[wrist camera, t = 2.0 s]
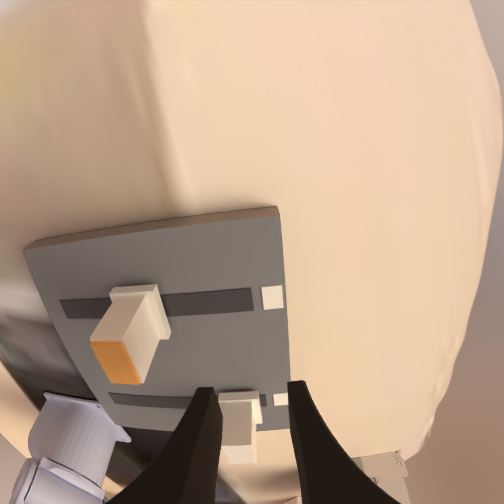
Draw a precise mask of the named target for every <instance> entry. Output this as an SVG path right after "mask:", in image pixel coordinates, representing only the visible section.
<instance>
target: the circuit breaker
mask: <svg viewBox="0 0 504 504" xmlns="http://www.w3.org/2000/svg"><path fill="white" fill-rule="evenodd" d="M400 452H401V451H400V450H398V451H397V452H388V453H383V454H377V455H371V456H364V457H357V458H351V459H352V460H353V461H354V462H355V464H356V465H357V466H358V467H359V468H360V469H361V470H362V471H363V472H364V473H365V474H366V475H367V476H368V477H369V478H370V479H371V480H372V481H373V482H374V483H375V484H377V485H378V486H379V487H380V488H381V489H383V490H384V491H385V492H386V493H387V494H389V495H390V496H391V497H393V498H394V499H395V500H397V501H398V502H400V503H401V504H411V503H410V499H409V496H408V492H407V489H406V485H405V482H404V478H405V477H406V476H407V475H408V472H407V469H406V466H405V463H404V460H403V458H402V459H401V456H400ZM398 462H400V464H401V466H399V465H398Z"/></svg>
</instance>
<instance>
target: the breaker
mask: <svg viewBox="0 0 504 504" xmlns="http://www.w3.org/2000/svg"><path fill="white" fill-rule="evenodd" d="M218 402H219V405H220V408H221V411H222V414H223V417H224V422H223V435H222V448H223V450H224V452H225V455H226V457H227V459H228V461H229V464H252V463H256V424H262V412H261V406H260V400H259V394H258V391H249V392H230V393H219V397H218Z"/></svg>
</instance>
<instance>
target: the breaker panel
mask: <svg viewBox="0 0 504 504" xmlns="http://www.w3.org/2000/svg"><path fill="white" fill-rule="evenodd" d="M23 253H24V255H25V258H26V261H27V264H28V267H29V269H30V272H31V274H32V277H33V279H34V282H35V284H36V287H37V289H38V292H39V294H40V296H41V299H42V301H43V303H44V305H45V308H46V310H47V312H48V314H49V316H50V318H51V320H52V322H53V324H54V326H55V328H56V330H57V332H58V334H59V336H60V338H61V340H62V342H63V344H64V346H65V348H66V349H67V351H68V353H69V355H70V356H71V358H72V360H73V362H74V363H75V365H76V367H77V369H78V370H79V372H80V373H81V375H82V377H83V378H84V380H85V382H86V383H87V385H88V386H89V388H90V389H91V391H92V392H93V394H94V395H95V397H96V398H97V400H98V401H99V403H100V404H101V406H102V407H103V408H104V410H105V411H106V413H107V414H108V415H109V417H110V418H111V420H112V421H113V422H114V424H115V425H118V426H125V427H133V428H142V429H152V430H165V431H174V430H175V428H176V427H177V425H178V423H179V421H180V420H181V418H182V416H183V415H184V413H185V411H186V409H187V407H188V405H189V403H190V401H191V399H192V397H193V395H194V393H195V391H196V389H197V388H198V387H213V388H214V391H215V394H216V397H217V400H218V397H219V393H230V392H249V391H258V394H259V400H260V406H261V412H262V424H256V431H266V430H279V429H289V428H290V422H289V411H288V391H287V382H291V380H290V358H289V338H288V320H287V304H286V288H285V274H284V260H283V247H282V234H281V222H280V214H279V210H278V207H277V206H275V207H265V208H255V209H246V210H237V211H228V212H220V213H211V214H203V215H195V216H187V217H180V218H172V219H165V220H158V221H151V222H144V223H137V224H131V225H124V226H118V227H111V228H105V229H99V230H93V231H87V232H81V233H76V234H70V235H64V236H59V237H53V238H48V239H43V240H38V241H35V242H34V243H32V244H31V245H29V246H28V247H27V248H25V249H24V250H23ZM151 284H157V287H158V291H159V294H160V297H161V301H162V304H163V307H164V310H165V314H166V317H167V320H168V323H169V326H170V329H171V334H170V337H169V339H166V340H159V343H158V345H157V348H156V351H155V353H154V356H153V359H152V362H151V364H150V367H149V370H148V373H147V376H146V378H145V381H144V383H140V385H132V384H118V383H111V382H110V380H109V379H108V377H107V375H106V373H105V371H104V370H103V368H102V366H101V364H100V362H99V361H98V359H97V357H96V355H95V353H94V351H93V349H92V347H91V345H90V344H91V343H92V342H91V340H90V336H91V335H92V333H93V332H94V330H95V328H96V327H97V325H98V324H99V322H100V321H101V319H102V318H103V316H104V315H105V313H106V312H107V310H108V309H109V307H110V306H111V304H112V301H111V298H110V295H109V293H110V292H111V290H112V289H113V288H114V287H124V286H138V285H151ZM218 403H219V402H218ZM219 406H220V405H219ZM220 409H221V408H220ZM221 412H222V411H221ZM222 415H223V414H222ZM223 422H224V417H223V421H222V432H223Z"/></svg>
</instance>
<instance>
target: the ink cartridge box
mask: <svg viewBox="0 0 504 504" xmlns="http://www.w3.org/2000/svg"><path fill="white" fill-rule="evenodd" d="M284 504H302V497H301V496H297V497H295V498H293V499H291V500H289V501H287V502H285V503H284Z"/></svg>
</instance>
